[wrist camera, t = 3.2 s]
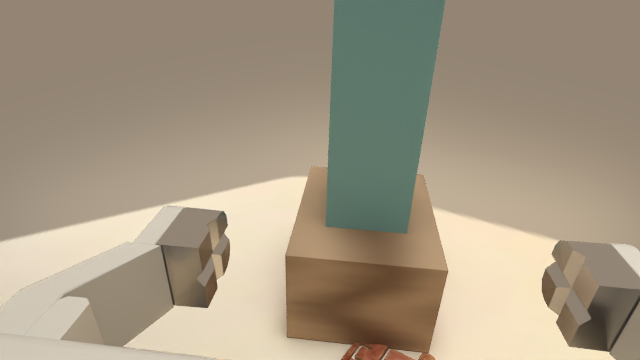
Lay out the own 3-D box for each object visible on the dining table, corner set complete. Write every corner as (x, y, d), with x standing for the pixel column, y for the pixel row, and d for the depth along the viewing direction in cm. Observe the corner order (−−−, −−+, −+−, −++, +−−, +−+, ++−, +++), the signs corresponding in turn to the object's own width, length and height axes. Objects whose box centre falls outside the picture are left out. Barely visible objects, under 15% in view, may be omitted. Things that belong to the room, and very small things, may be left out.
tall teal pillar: (325, 226, 22) (334, -12, 16) (332, 186, 26) (341, -17, 20) (406, 233, 21) (446, -9, 16) (401, 192, 25) (431, -14, 20)
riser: (287, 336, 22) (285, 255, 20) (310, 233, 31) (311, 166, 28) (428, 352, 22) (448, 270, 19) (411, 242, 30) (423, 174, 28)
